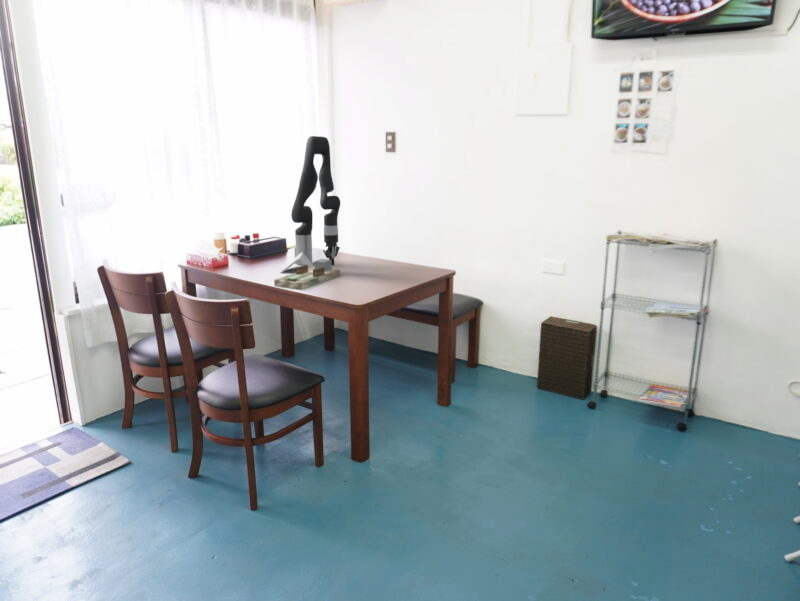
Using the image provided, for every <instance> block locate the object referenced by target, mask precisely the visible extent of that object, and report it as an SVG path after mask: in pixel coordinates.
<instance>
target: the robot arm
mask: <svg viewBox="0 0 800 601" xmlns="http://www.w3.org/2000/svg"><path fill="white" fill-rule="evenodd" d="M330 149H331V148H330V142H329V139H328V138H327V137H325V136H318V135H316V136H315V135H311V136H309V137H308V138H307V141H306V145H305V153H304V160H303V161H304V162H303V166H302V170H301V174H300V179H299V184H298V190H297V193H296V197H295V200H294V202H293V205H292V209H291V215H290V216H291V220H292V222H293V223H295V224H300V223H301V225H300V226H299V227H297V228H296V229H295V233H294V236H295V247H294V258H295V257H296V256H298V255H299V254H300V253H301V252H303V253H304V254H305V255H306V256H307V258H308V259H309V260H310V261H311V262H312V263H313V240H312V238H313V237H312V236H313V235H312V231H313V220H314V219H313V210H312V208H311V207H310V206H308V205H305V203H306V201H307V200H308V199H309V198H310V197H311V195H312V194H313V193H314V192H315V190H316V188H317V184H318V182H319V188H320V199H319V205H320V207H321V209H323V210H325V211H326V210H330V212H328V213H326V214H325V215H324V216H323V223H324V224H323V225H324V226H323V242H324V243H325V249H323V250H322V251H323V252H322V253H324V256H325V257H326V259H328V260H332V266H334V265H335V258H336V257H337V256H338V253H339V252H340V246H338V244H337V243H339V227H338V215H339V211H340V207H341V199H340V197H339V196H337V195H328V193H332V192H333V191H334V190H335V185H334V181H333V175H332V167H331V150H330ZM315 155H321V157H322V163H321V167H320V169H319V173H318V172H317V170H316V167H315V165H314V159H315ZM296 264H297V265H299V266H303V265H302V264H301V263H300V261H299V260H298V261H297V262H296V263H295V265H296Z"/></svg>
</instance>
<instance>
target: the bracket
mask: <svg viewBox="0 0 800 601" xmlns="http://www.w3.org/2000/svg"><path fill="white" fill-rule="evenodd" d="M298 260H299V261H300V263H301V264H302V265H301V266H303V265H308V269H310V268H313V267H315V264H313V261H312V262H311V261H310V260H309V259H308V258H307V256H306V255H305V254H304V253H303V252H301V253H300V254H299V255H298V256H296V257H295V256H294V258H293V259H292V260H291V261H290V262H289V263H288V264H286V265H285V267H283V268H282V269H281V270H280V272H279V273H280V274H283V273H284V272H285V271H286V270H288V269H290V267H292V266H293V265H296V262H297V261H298Z"/></svg>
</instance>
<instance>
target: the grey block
mask: <svg viewBox="0 0 800 601" xmlns="http://www.w3.org/2000/svg"><path fill="white" fill-rule="evenodd" d="M314 267H315V269H316V268H320V267H324V271H327V270H330V269H333V268H332V267H333V265H332V260H329V258H321V259H317V260H314Z"/></svg>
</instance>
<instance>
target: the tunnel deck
mask: <svg viewBox="0 0 800 601" xmlns="http://www.w3.org/2000/svg"><path fill="white" fill-rule="evenodd" d="M341 272H342V271H341V269H338V268H332V269H330V270H327V271H324V267H320V268H316V269H315V266H313V268H310V269H308V265H299V266H297V267H295V273H291V274H287V275H284V276H281V277H278V278H274V282H273V283H274V287H275V286H276V287H281V288H289V289H296V290H303V289H306V288H309V287H312V286H314V285H318V284H319V283H323V282H326V281H329V280H330V279H335V278H337V277H339V276H342V274H341Z"/></svg>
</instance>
